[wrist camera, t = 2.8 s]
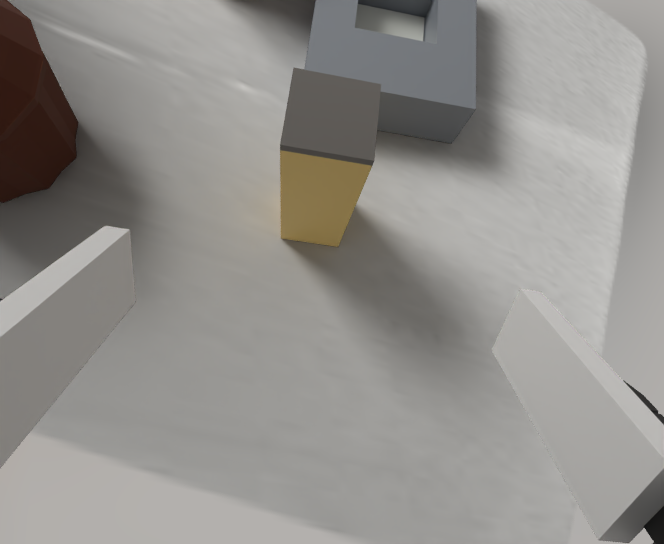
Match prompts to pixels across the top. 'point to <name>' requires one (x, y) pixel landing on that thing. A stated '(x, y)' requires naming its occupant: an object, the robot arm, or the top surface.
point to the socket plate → (403, 59)
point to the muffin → (30, 111)
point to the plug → (325, 153)
